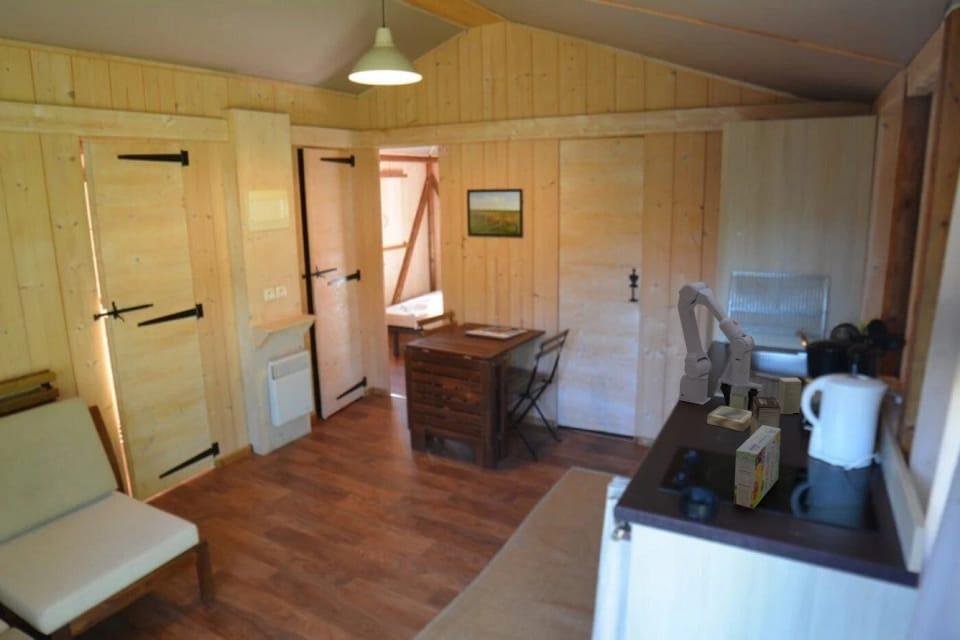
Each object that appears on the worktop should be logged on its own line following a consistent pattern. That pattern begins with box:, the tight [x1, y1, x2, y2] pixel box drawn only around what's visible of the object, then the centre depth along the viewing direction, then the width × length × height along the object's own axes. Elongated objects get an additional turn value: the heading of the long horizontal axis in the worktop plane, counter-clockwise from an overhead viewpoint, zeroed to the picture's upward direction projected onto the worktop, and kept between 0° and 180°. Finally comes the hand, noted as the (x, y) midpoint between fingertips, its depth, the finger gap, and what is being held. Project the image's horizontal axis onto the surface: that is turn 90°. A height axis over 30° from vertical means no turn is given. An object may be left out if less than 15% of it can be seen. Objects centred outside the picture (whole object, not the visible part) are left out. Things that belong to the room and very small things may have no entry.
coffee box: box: [749, 396, 781, 438], centre depth 197 cm, size 9×6×16 cm
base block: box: [706, 404, 752, 432], centre depth 222 cm, size 12×12×3 cm
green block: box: [729, 391, 748, 411], centre depth 232 cm, size 5×5×6 cm
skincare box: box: [777, 376, 803, 415], centre depth 229 cm, size 6×4×12 cm
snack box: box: [733, 425, 782, 510], centre depth 173 cm, size 21×6×15 cm, turn 141°
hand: (738, 406), depth 232 cm, fingers open, 7 cm apart
